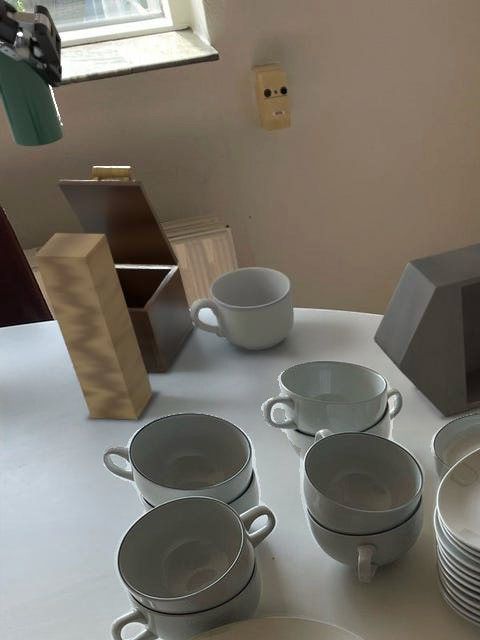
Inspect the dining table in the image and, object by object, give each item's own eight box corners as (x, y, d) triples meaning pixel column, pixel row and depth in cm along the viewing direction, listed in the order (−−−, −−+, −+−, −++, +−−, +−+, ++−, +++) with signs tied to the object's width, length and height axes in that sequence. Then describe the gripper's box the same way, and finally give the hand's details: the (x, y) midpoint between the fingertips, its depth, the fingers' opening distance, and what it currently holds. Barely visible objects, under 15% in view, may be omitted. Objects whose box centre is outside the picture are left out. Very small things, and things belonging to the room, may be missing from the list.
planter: (391, 299, 111) (554, 255, 117) (365, 271, 116) (523, 231, 122) (405, 429, 123) (552, 384, 129) (380, 399, 128) (523, 357, 134)
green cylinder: (5, 146, 106) (-28, 50, 99) (26, 128, 109) (-4, 34, 103) (52, 147, 105) (22, 50, 99) (72, 129, 109) (44, 35, 102)
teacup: (291, 314, 145) (282, 260, 139) (306, 350, 137) (297, 295, 132) (194, 332, 142) (180, 278, 136) (204, 370, 134) (190, 314, 129)
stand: (91, 418, 127) (33, 255, 112) (108, 392, 131) (55, 232, 116) (137, 419, 126) (85, 256, 112) (153, 393, 131) (105, 233, 116)
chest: (164, 372, 134) (147, 311, 128) (88, 370, 135) (67, 309, 129) (193, 326, 143) (178, 266, 137) (122, 324, 144) (104, 265, 138)
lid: (139, 185, 124) (148, 154, 126) (57, 184, 125) (67, 153, 127) (177, 265, 136) (185, 236, 138) (102, 264, 137) (111, 234, 139)
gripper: (12, -73, 87) (97, 42, 104) (-147, -70, 88) (-37, 43, 105) (10, 14, 88) (95, 114, 104) (-149, 16, 88) (-39, 115, 105)
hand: (28, 78), depth 105 cm, fingers closed on green cylinder, 5 cm apart
